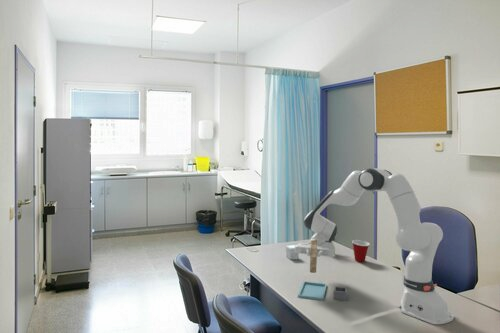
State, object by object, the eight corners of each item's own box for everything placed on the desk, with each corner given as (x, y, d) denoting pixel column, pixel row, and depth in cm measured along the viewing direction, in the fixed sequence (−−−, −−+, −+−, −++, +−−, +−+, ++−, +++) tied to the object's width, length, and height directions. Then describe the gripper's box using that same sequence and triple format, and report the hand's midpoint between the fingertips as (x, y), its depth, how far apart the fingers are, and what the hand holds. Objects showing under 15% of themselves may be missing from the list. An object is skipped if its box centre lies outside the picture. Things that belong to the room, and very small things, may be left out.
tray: (303, 284, 202) (303, 281, 202) (326, 287, 199) (326, 283, 199) (297, 299, 185) (297, 295, 185) (323, 302, 182) (323, 298, 181)
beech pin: (317, 272, 191) (318, 240, 189) (312, 273, 189) (313, 241, 187) (313, 270, 193) (314, 238, 192) (308, 271, 192) (309, 239, 190)
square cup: (346, 297, 187) (347, 287, 187) (346, 302, 181) (346, 292, 181) (334, 296, 189) (334, 286, 188) (333, 301, 183) (333, 290, 183)
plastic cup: (370, 264, 235) (370, 245, 233) (351, 263, 237) (352, 243, 236) (368, 258, 245) (369, 240, 244) (350, 257, 247) (351, 239, 246)
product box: (298, 258, 244) (299, 247, 243) (290, 259, 242) (290, 248, 241) (294, 255, 250) (294, 244, 249) (285, 256, 247) (286, 245, 247)
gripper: (297, 238, 205) (292, 246, 192) (336, 242, 200) (334, 250, 186) (296, 250, 206) (292, 258, 193) (335, 254, 200) (334, 263, 187)
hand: (313, 254), depth 189 cm, fingers closed on beech pin, 3 cm apart
